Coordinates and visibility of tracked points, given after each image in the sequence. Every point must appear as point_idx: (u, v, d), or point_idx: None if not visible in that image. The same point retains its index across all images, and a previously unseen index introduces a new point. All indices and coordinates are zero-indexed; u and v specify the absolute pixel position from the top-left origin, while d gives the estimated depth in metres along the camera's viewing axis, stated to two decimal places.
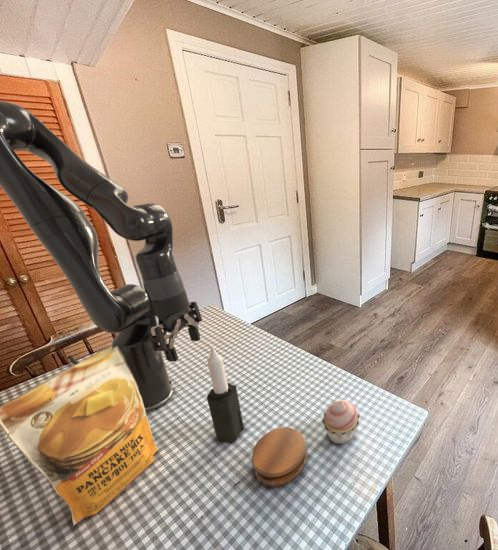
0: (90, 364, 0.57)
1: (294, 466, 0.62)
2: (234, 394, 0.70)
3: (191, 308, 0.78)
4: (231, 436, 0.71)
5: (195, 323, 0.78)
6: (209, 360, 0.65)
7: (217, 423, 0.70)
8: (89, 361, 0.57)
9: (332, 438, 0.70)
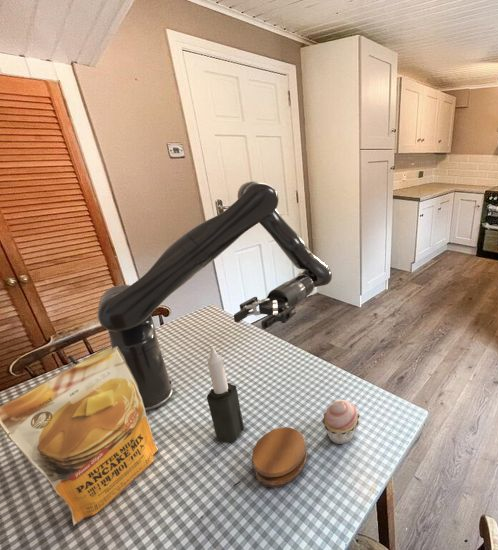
0: (90, 364, 0.57)
1: (294, 466, 0.62)
2: (234, 394, 0.70)
3: None
4: (231, 436, 0.71)
5: None
6: (209, 360, 0.65)
7: (217, 423, 0.70)
8: (89, 361, 0.57)
9: (332, 438, 0.70)
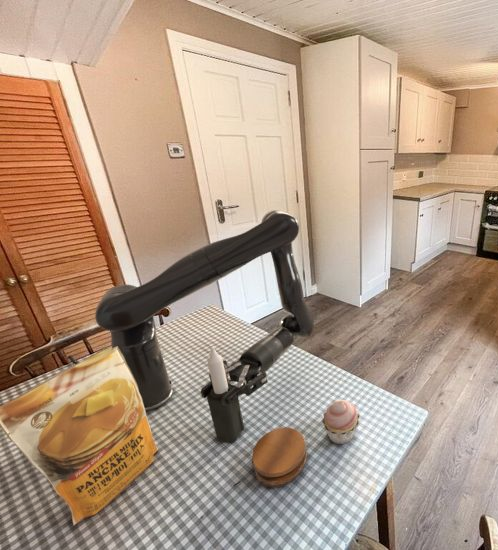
0: (90, 364, 0.57)
1: (294, 466, 0.62)
2: None
3: None
4: (232, 436, 0.71)
5: None
6: (209, 360, 0.65)
7: (217, 423, 0.70)
8: (89, 361, 0.57)
9: (332, 438, 0.70)
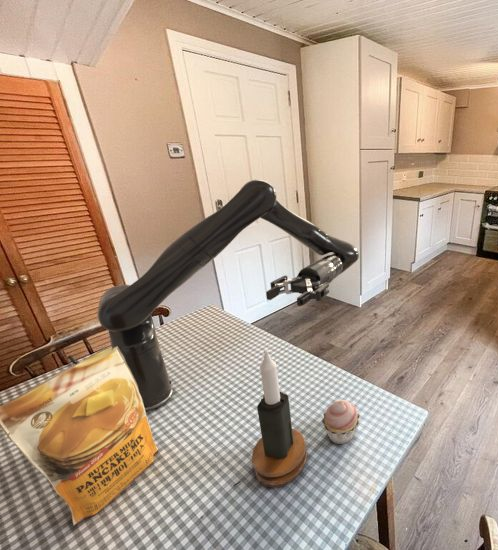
0: (90, 364, 0.57)
1: (294, 466, 0.62)
2: (286, 404, 0.61)
3: None
4: (283, 452, 0.62)
5: None
6: (262, 366, 0.56)
7: (267, 438, 0.61)
8: (89, 361, 0.57)
9: (332, 438, 0.70)
